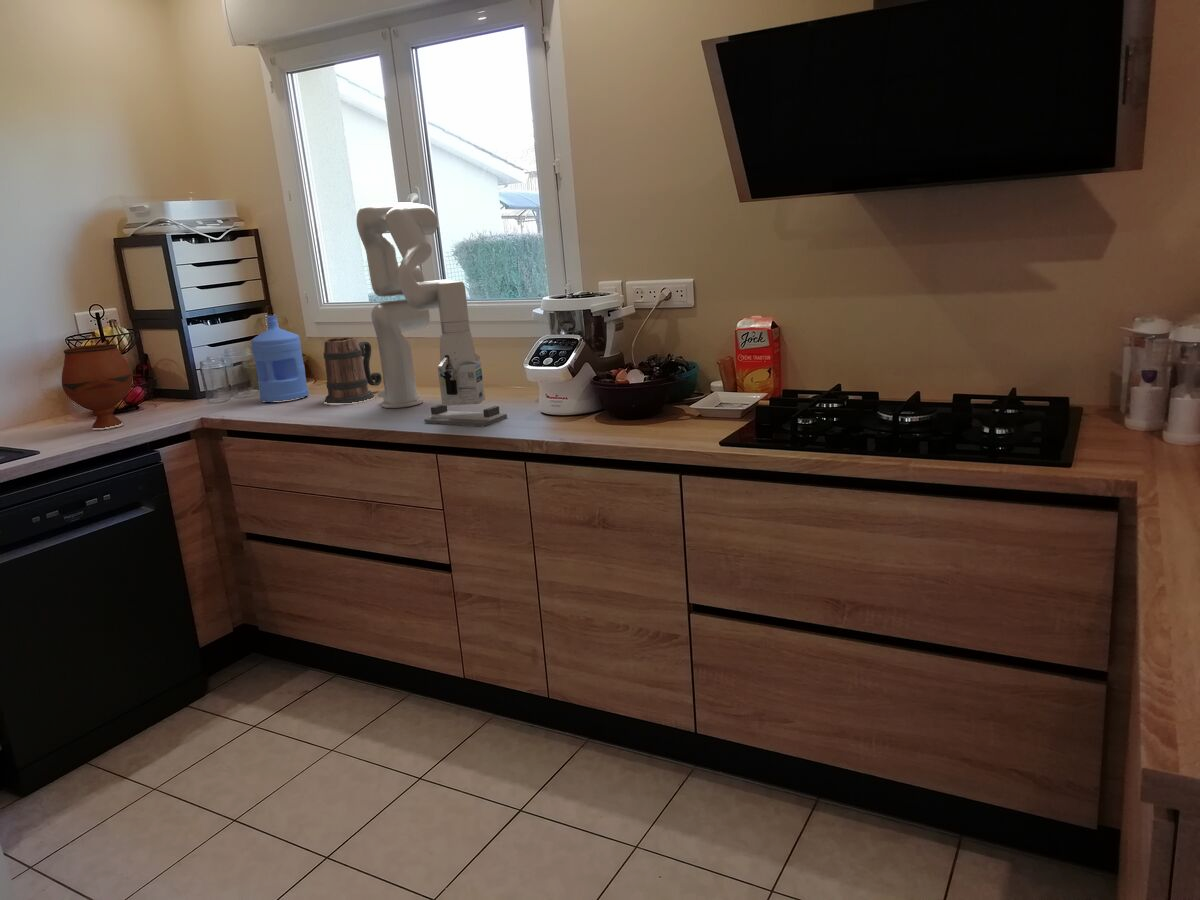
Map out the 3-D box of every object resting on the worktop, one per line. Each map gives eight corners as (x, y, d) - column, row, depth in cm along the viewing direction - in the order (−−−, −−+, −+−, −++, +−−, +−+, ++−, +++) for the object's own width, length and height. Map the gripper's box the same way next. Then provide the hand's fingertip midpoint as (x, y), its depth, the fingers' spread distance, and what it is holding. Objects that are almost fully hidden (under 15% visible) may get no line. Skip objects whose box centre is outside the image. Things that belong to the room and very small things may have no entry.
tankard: (350, 406, 272) (340, 342, 267) (311, 404, 280) (301, 342, 275) (400, 391, 292) (392, 332, 287) (362, 390, 300) (354, 332, 295)
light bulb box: (485, 399, 240) (481, 361, 238) (479, 404, 234) (475, 365, 231) (448, 401, 242) (443, 363, 239) (441, 406, 235) (436, 367, 232)
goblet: (104, 435, 254) (85, 351, 248) (57, 434, 261) (38, 352, 255) (156, 420, 272) (140, 341, 265) (111, 420, 278) (94, 342, 272)
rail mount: (424, 423, 239) (423, 409, 238) (449, 414, 248) (448, 401, 247) (483, 426, 230) (482, 412, 229) (507, 417, 239) (505, 403, 238)
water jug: (275, 395, 302) (261, 314, 295) (317, 393, 300) (304, 312, 293) (251, 404, 288) (236, 320, 281) (295, 402, 285) (282, 317, 278)
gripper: (464, 323, 242) (470, 385, 246) (423, 332, 227) (431, 397, 231) (485, 323, 238) (492, 385, 242) (446, 332, 223) (453, 398, 228)
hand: (462, 391), depth 237 cm, fingers closed on light bulb box, 8 cm apart
